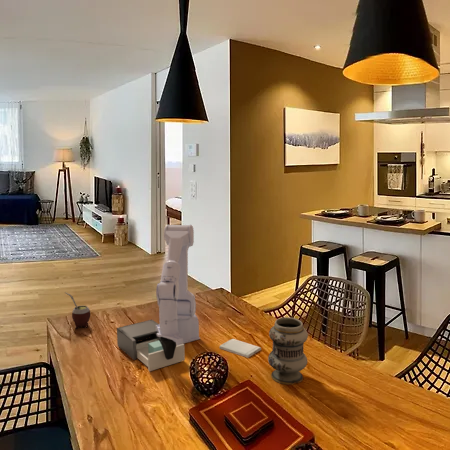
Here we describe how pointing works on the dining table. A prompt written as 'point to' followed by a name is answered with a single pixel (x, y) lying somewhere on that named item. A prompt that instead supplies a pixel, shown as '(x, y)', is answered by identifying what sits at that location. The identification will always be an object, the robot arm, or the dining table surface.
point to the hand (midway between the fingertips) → (169, 358)
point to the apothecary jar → (287, 350)
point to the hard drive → (240, 348)
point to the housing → (135, 335)
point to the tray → (158, 355)
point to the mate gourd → (80, 315)
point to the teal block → (154, 346)
